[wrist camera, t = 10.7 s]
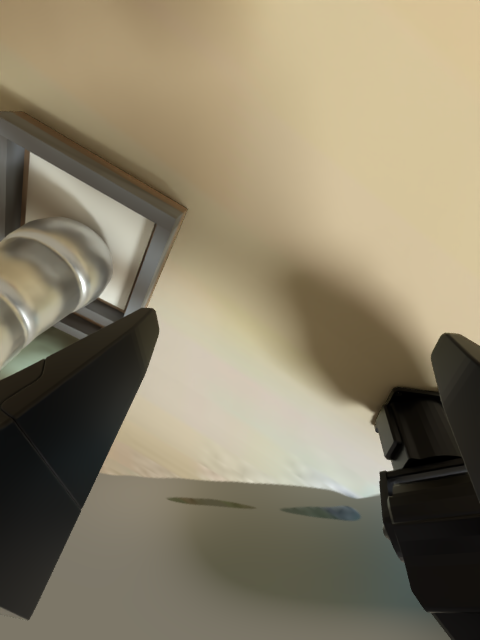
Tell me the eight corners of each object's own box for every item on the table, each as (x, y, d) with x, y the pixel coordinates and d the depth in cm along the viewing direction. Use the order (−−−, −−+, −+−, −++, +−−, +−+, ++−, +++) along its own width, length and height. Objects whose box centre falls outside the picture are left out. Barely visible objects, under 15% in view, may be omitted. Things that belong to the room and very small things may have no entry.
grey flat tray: (22, 111, 19) (-70, 110, 14) (187, 209, 21) (154, 237, 16) (10, 355, 34) (-38, 395, 29) (108, 399, 36) (78, 444, 31)
